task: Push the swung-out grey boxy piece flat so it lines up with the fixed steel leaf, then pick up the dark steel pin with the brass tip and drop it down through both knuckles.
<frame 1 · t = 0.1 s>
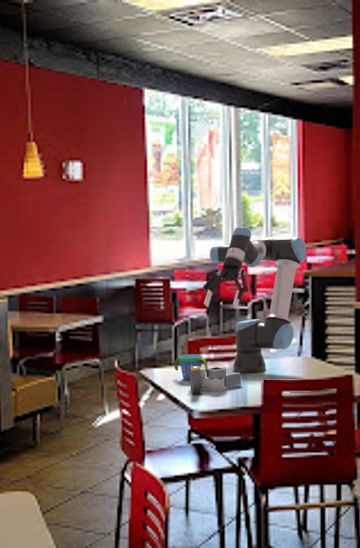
hand: (220, 305, 335), 36 cm above the table, tool tilted 35°, fingers open, 13 cm apart
grey boxy piece: (225, 377, 346), point 5 cm above the table, hinge at 40.0°
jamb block: (198, 388, 347), on the table
pin: (196, 394, 336), on the table
fixed leaf: (216, 389, 344), on the table
snack cup: (191, 379, 368), on the table
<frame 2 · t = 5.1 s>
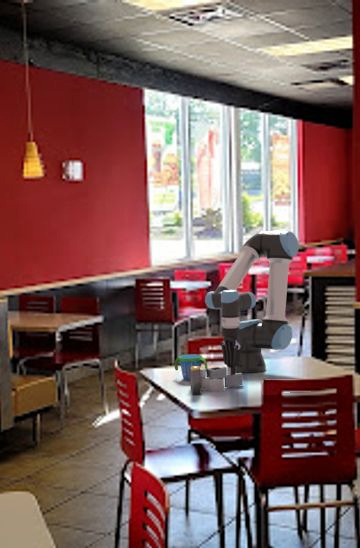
hand: (231, 382, 350), 2 cm above the table, tool pointing down, fingers closed
grey boxy piece: (226, 377, 346), point 5 cm above the table, hinge at 34.9°, touching gripper
everything else where it was.
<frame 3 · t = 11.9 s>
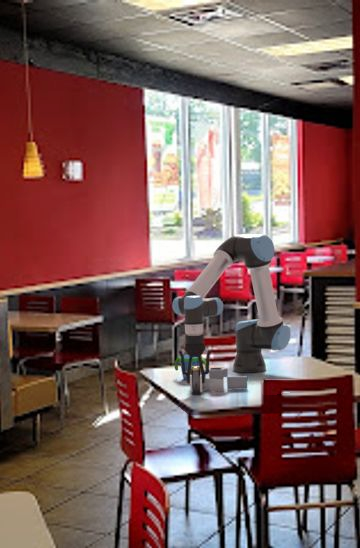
hand: (196, 391, 336), 1 cm above the table, tool pointing down, fingers closed on pin, 3 cm apart
grey boxy piece: (228, 378, 343), point 5 cm above the table, hinge at 1.0°
pin: (196, 394, 336), on the table, touching gripper
everything else where it was.
when the fingers open (10 cm above the table, at t = 16.2 s): pin drops 7 cm, resting in fixed leaf.
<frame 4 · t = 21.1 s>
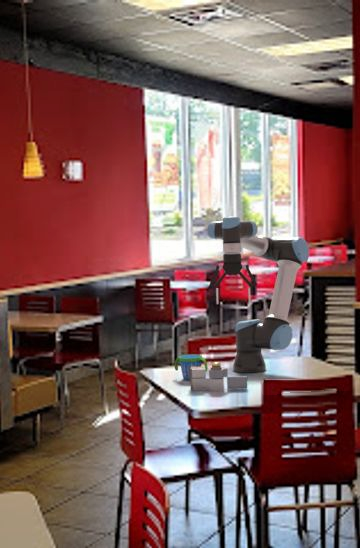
hand: (233, 303, 351), 35 cm above the table, tool pointing down, fingers open, 13 cm apart
pin: (217, 389, 344), resting in fixed leaf
everything else where it was.
at the end: pin 0.1 cm from the target spot, resting in fixed leaf; grey boxy piece at +1° (first picture: +40°); pin tilted 0° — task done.
